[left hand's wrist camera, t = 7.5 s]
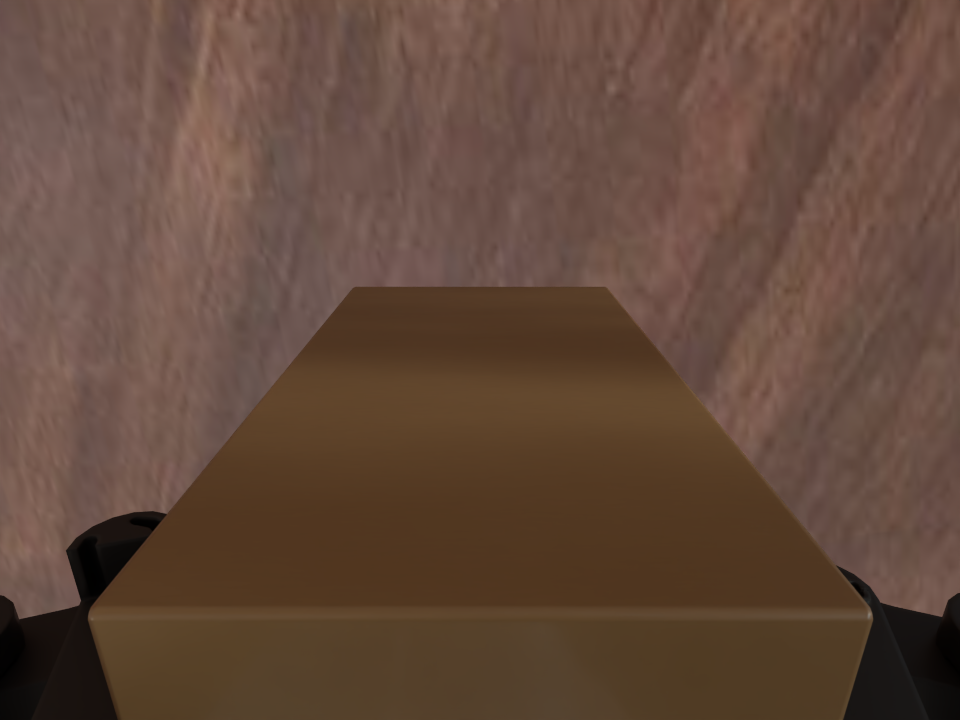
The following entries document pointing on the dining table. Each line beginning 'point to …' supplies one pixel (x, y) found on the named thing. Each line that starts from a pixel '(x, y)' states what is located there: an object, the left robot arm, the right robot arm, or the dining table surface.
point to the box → (480, 538)
